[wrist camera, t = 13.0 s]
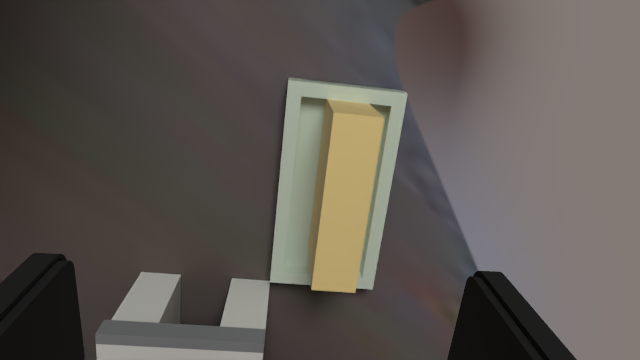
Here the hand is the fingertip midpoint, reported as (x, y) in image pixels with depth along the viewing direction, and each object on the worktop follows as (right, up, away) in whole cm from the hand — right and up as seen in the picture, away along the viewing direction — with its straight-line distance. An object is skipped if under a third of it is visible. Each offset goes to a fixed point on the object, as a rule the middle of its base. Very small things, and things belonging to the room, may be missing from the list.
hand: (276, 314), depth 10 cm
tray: (+2, +3, +24) cm, 24 cm away
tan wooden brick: (+2, +4, +23) cm, 23 cm away
